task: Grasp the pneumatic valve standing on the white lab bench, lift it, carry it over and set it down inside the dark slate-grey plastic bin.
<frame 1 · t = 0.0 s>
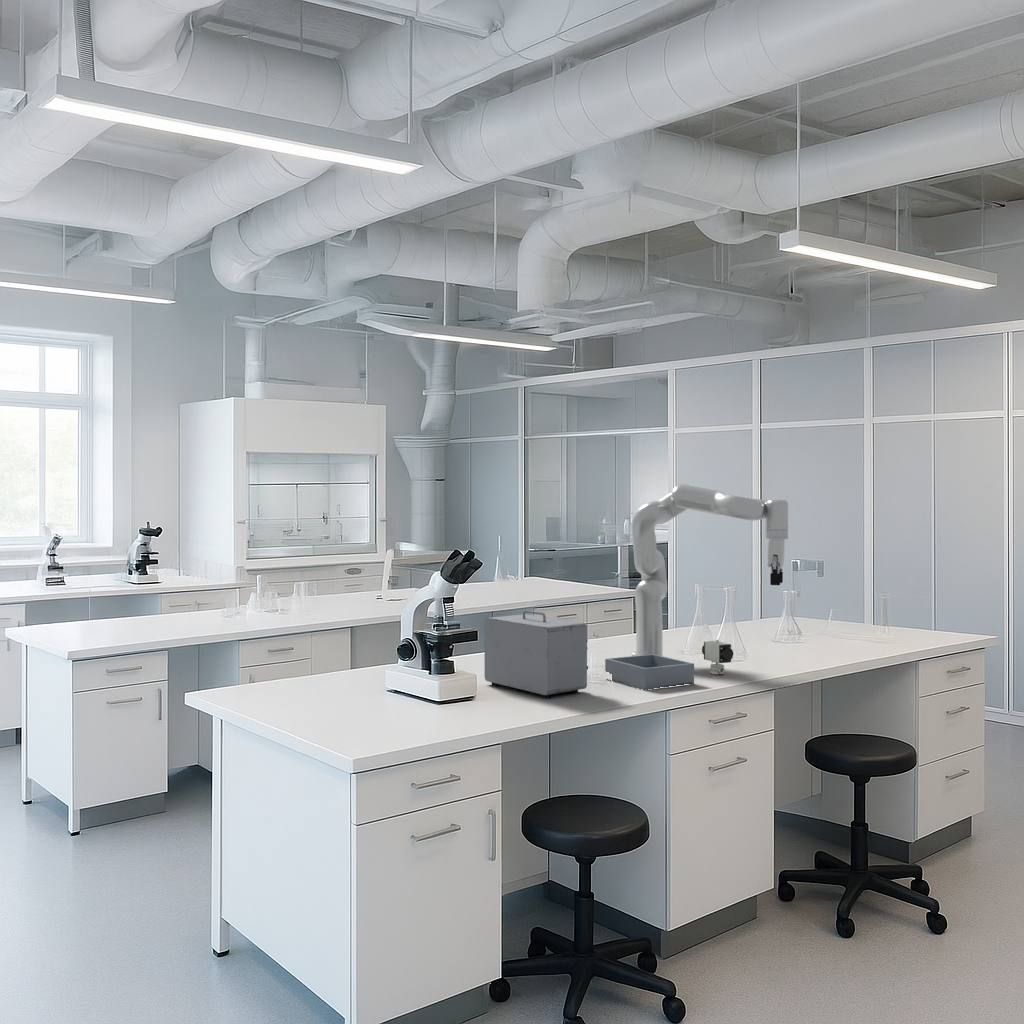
hand: (776, 583, 341), 31 cm above the countertop, tool pointing down, fingers open, 9 cm apart
vintage electronic device: (536, 689, 314), on the countertop
pneumatic valve: (718, 674, 340), on the countertop
parts bin: (649, 682, 325), on the countertop
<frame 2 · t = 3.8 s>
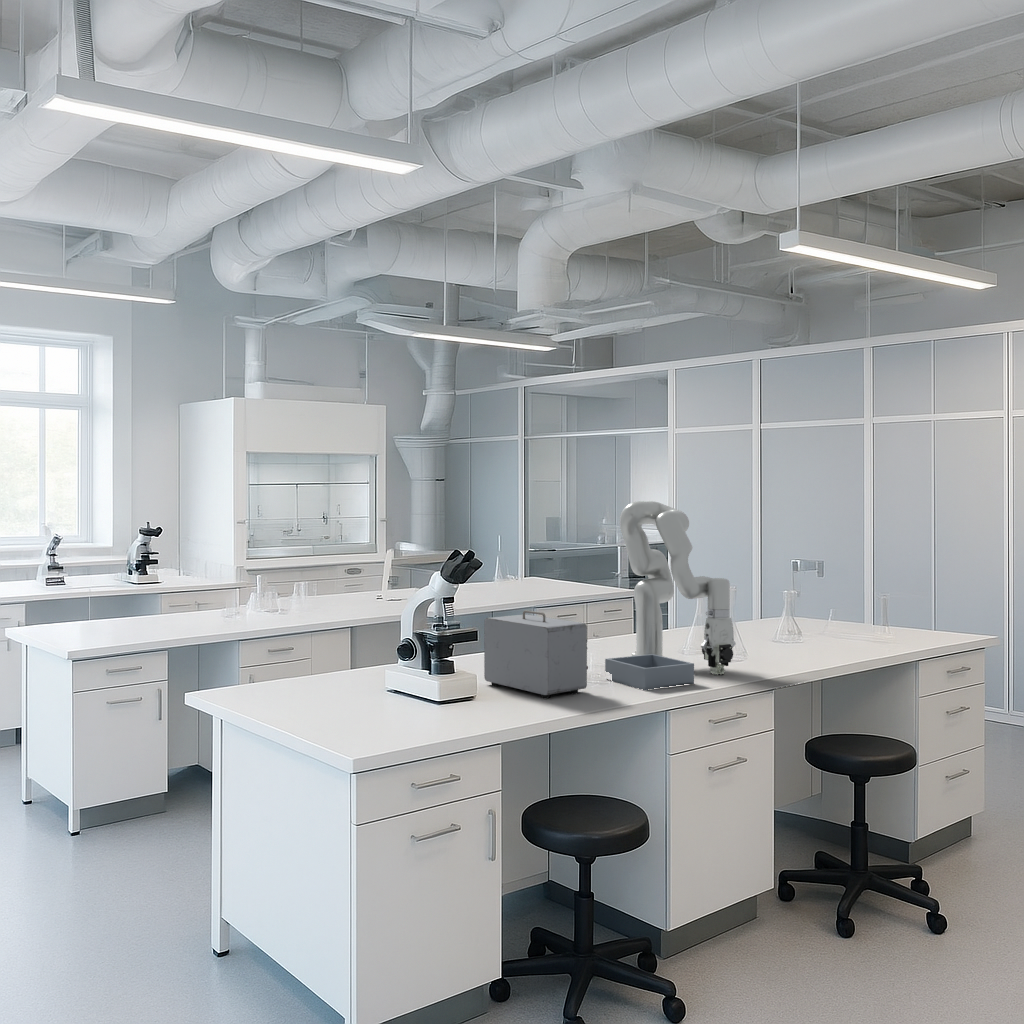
hand: (718, 665, 340), 3 cm above the countertop, tool pointing down, fingers closed on pneumatic valve, 5 cm apart
pneumatic valve: (718, 674, 340), on the countertop, touching gripper
everything else where it was.
when the fingers open (6 cm above the countertop, at t = 11.3 s): pneumatic valve drops 2 cm, resting on parts bin.
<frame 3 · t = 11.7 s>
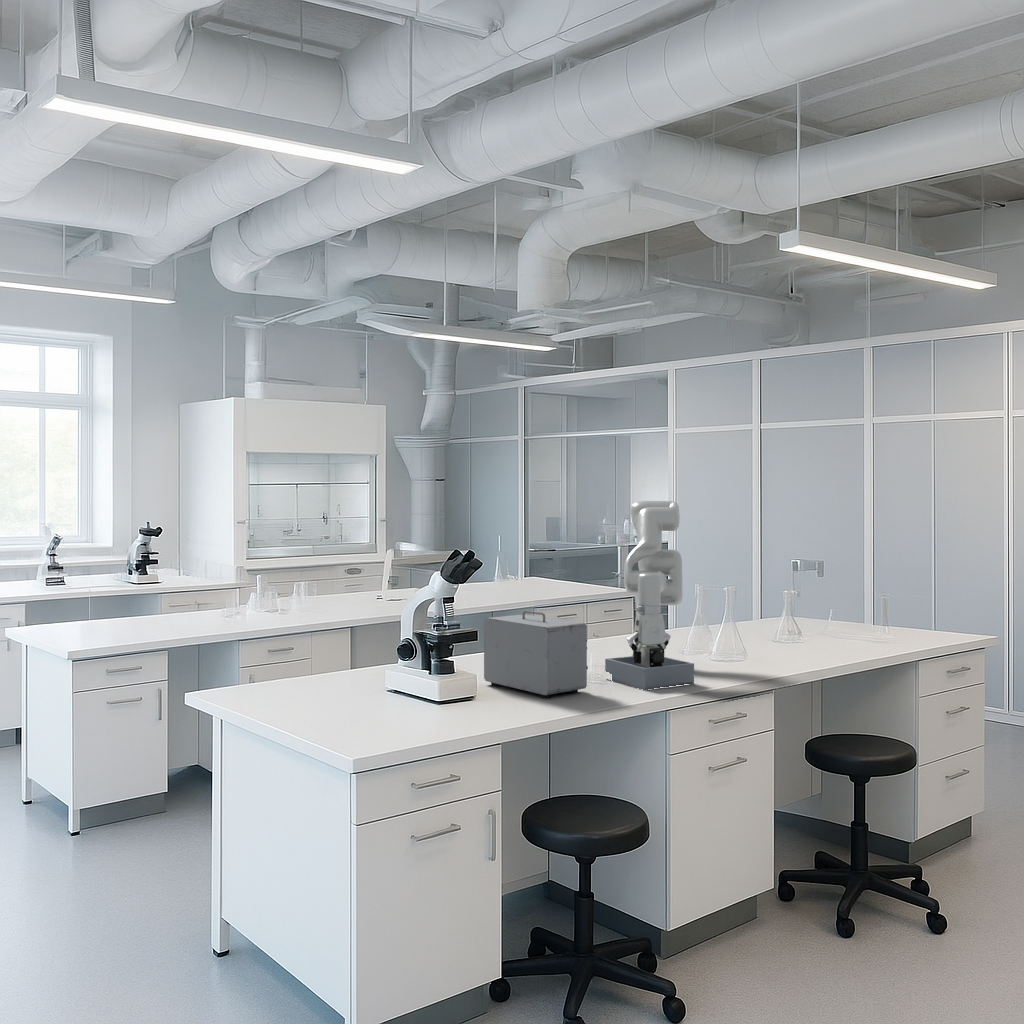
hand: (649, 661, 325), 7 cm above the countertop, tool pointing down, fingers open, 9 cm apart
pneumatic valve: (649, 679, 325), point 1 cm above the countertop, touching parts bin
everything else where it was.
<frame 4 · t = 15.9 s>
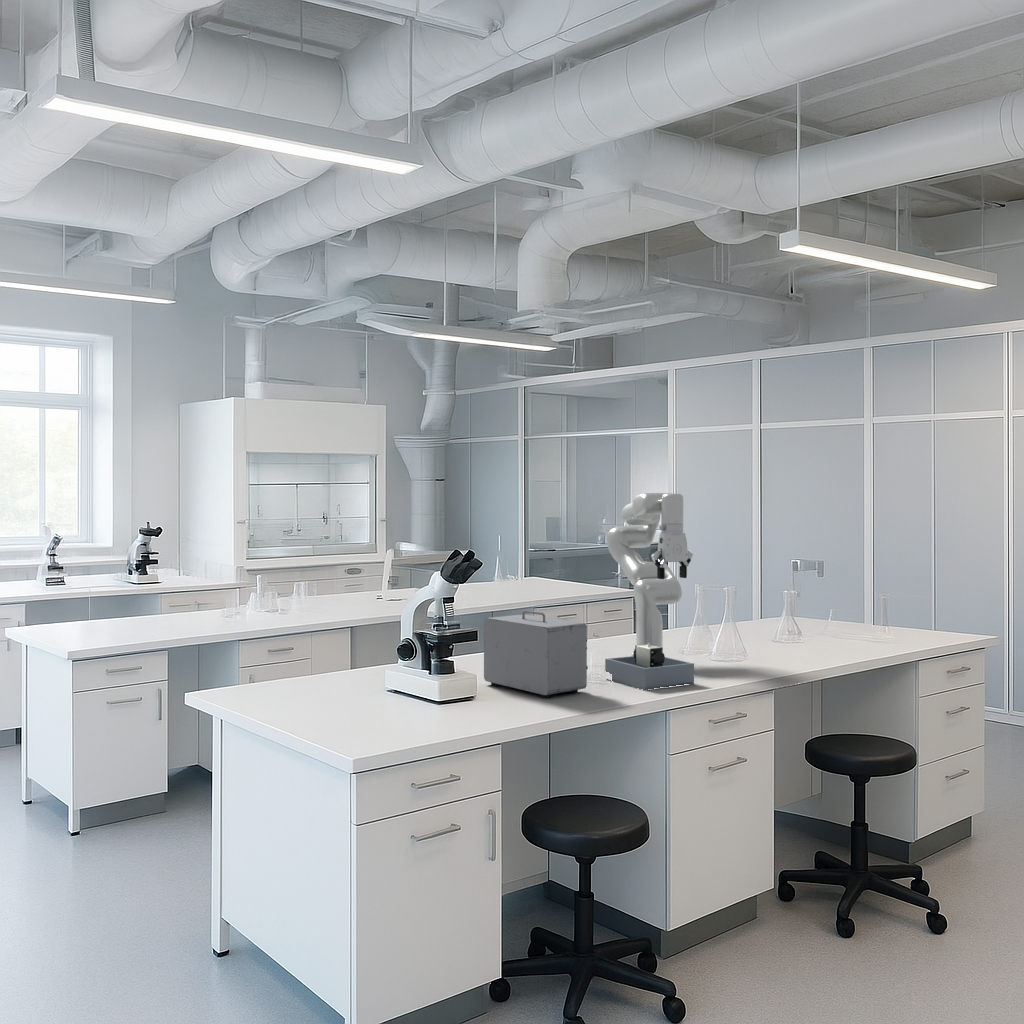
hand: (672, 578, 339), 33 cm above the countertop, tool pointing down, fingers open, 9 cm apart
nothing on the countertop moved.
at the end: pneumatic valve inside the target area on the parts bin (0.3 cm from its centre), point 0.8 cm above the parts bin's base; the gripper is holding nothing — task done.
